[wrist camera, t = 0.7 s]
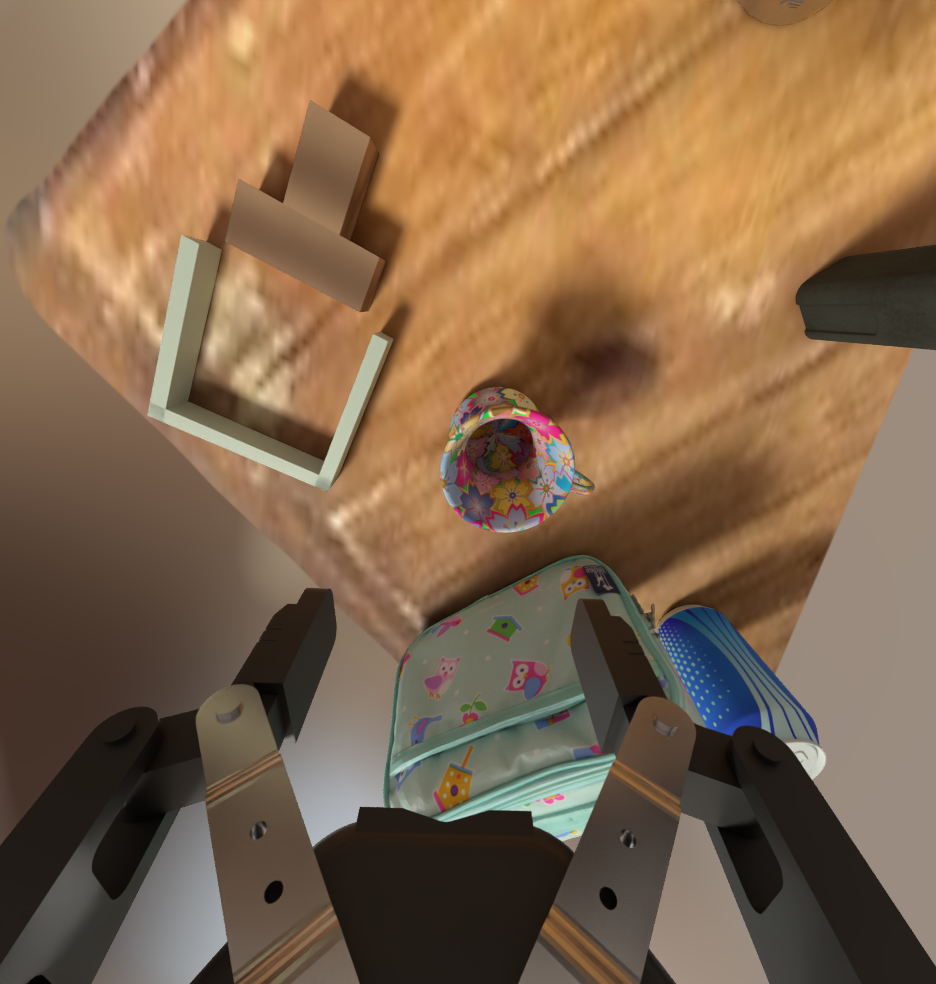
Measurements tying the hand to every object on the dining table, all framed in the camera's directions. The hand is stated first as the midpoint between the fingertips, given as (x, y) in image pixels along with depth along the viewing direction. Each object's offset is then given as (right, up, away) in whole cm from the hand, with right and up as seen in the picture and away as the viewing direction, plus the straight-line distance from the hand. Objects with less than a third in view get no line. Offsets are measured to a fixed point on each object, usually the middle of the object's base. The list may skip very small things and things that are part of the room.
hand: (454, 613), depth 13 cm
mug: (+4, +9, +24) cm, 27 cm away
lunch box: (+6, -10, +33) cm, 35 cm away
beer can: (+26, -12, +34) cm, 45 cm away
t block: (-10, +25, +17) cm, 32 cm away
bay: (-16, +15, +21) cm, 30 cm away
